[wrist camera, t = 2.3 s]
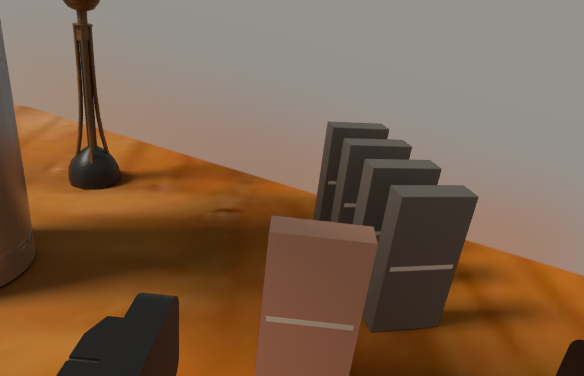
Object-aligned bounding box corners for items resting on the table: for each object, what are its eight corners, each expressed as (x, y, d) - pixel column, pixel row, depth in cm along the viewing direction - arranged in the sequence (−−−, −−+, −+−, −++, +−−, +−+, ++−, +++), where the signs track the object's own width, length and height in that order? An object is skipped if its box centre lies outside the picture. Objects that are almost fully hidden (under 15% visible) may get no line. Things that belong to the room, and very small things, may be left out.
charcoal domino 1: (368, 231, 42) (389, 129, 38) (317, 232, 41) (333, 127, 37) (361, 222, 43) (381, 123, 39) (312, 223, 42) (327, 121, 38)
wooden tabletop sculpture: (50, 179, 45) (21, -45, 36) (84, 164, 49) (66, -40, 40) (98, 193, 43) (80, -38, 35) (129, 177, 47) (120, -33, 39)
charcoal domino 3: (409, 288, 35) (441, 168, 30) (349, 291, 33) (373, 167, 29) (400, 275, 36) (429, 160, 32) (342, 278, 35) (364, 158, 31)
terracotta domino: (343, 399, 24) (378, 244, 20) (253, 389, 24) (268, 232, 20) (341, 375, 26) (373, 226, 22) (256, 366, 26) (271, 215, 22)
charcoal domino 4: (437, 326, 31) (478, 196, 27) (370, 332, 30) (402, 197, 25) (426, 311, 32) (463, 185, 28) (362, 315, 31) (390, 185, 27)
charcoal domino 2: (386, 256, 38) (412, 147, 34) (331, 258, 37) (351, 145, 33) (379, 246, 40) (402, 139, 36) (325, 248, 38) (343, 138, 34)
